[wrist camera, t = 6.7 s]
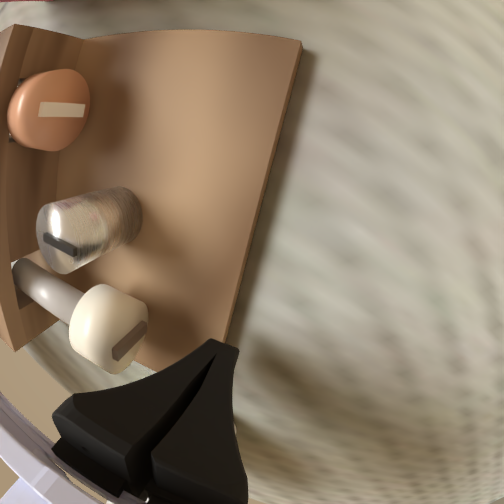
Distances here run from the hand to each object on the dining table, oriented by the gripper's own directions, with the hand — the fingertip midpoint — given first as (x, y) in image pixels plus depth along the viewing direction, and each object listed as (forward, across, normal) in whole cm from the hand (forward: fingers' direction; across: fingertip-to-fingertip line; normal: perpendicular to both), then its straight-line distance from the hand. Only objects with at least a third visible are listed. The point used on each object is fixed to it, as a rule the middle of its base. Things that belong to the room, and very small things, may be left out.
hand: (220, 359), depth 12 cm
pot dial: (+1, +6, -4) cm, 8 cm away
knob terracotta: (+1, +13, -9) cm, 16 cm away
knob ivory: (+1, +8, 0) cm, 8 cm away
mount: (+2, +8, -4) cm, 10 cm away
